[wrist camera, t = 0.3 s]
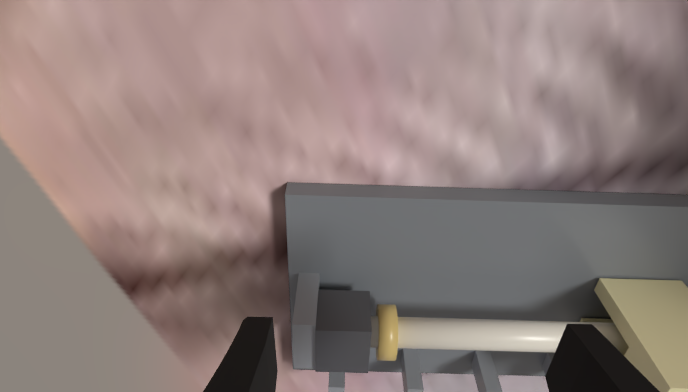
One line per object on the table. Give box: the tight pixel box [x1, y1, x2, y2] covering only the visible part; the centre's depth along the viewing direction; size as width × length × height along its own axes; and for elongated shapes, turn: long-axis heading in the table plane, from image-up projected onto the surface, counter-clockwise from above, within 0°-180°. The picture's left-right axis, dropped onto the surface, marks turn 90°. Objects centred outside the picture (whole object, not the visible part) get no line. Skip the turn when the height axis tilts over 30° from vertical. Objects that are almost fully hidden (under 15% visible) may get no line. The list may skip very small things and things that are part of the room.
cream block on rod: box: [580, 278, 688, 392], centre depth 21 cm, size 4×4×6 cm
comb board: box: [285, 183, 688, 392], centre depth 22 cm, size 21×12×4 cm, turn 88°
